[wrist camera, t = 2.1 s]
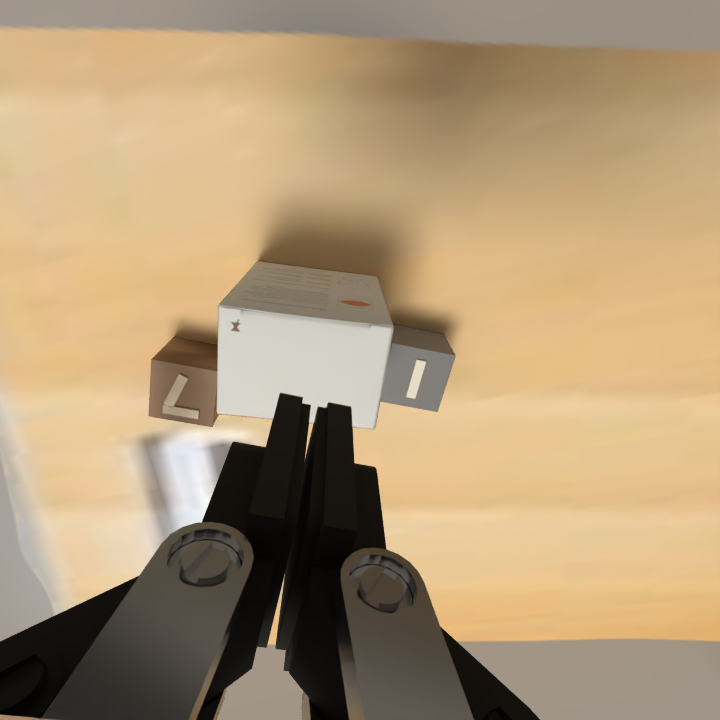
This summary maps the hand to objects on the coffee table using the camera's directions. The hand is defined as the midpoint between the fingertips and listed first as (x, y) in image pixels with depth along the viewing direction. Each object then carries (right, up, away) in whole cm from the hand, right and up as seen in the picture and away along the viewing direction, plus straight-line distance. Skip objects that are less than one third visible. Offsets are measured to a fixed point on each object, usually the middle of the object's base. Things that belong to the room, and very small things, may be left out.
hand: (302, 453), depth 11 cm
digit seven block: (-10, +2, +22) cm, 24 cm away
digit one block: (+5, +3, +22) cm, 22 cm away
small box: (-2, +6, +20) cm, 21 cm away
